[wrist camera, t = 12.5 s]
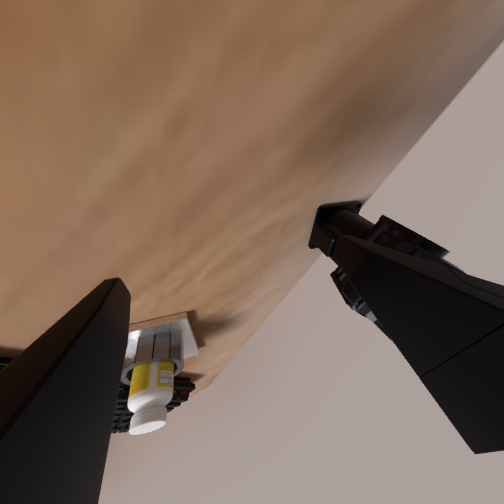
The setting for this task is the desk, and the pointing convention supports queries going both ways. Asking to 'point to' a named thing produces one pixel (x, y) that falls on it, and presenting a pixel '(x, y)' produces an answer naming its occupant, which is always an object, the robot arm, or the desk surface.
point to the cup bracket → (160, 343)
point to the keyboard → (122, 412)
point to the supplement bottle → (150, 395)
